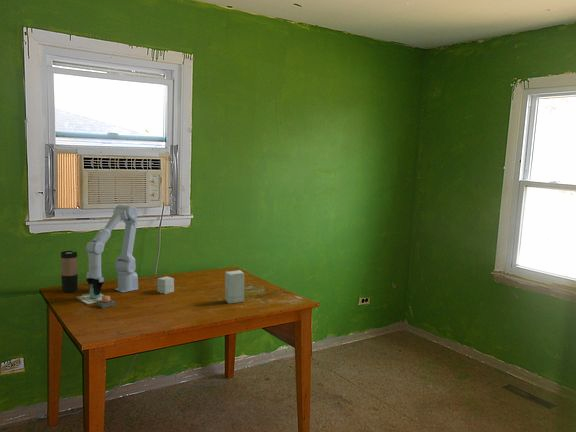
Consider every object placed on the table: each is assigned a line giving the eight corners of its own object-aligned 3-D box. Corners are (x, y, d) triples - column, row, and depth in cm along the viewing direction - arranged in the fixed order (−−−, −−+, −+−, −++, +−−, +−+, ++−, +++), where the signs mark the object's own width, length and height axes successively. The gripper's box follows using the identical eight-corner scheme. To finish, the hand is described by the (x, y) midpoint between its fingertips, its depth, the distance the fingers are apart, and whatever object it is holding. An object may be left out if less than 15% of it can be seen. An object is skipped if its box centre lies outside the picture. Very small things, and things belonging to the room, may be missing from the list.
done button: (108, 301, 228) (107, 295, 228) (111, 303, 226) (111, 296, 226) (100, 302, 226) (100, 296, 226) (104, 304, 223) (103, 298, 223)
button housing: (109, 302, 230) (109, 298, 230) (115, 305, 226) (115, 301, 226) (96, 305, 226) (96, 301, 226) (102, 308, 222) (102, 304, 222)
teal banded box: (97, 295, 238) (97, 283, 237) (100, 296, 235) (100, 284, 235) (89, 296, 235) (89, 284, 235) (93, 298, 233) (92, 286, 232)
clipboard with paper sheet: (99, 293, 245) (99, 291, 245) (112, 300, 235) (112, 298, 235) (74, 297, 236) (74, 295, 236) (87, 305, 226) (87, 303, 226)
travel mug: (62, 293, 243) (60, 254, 240) (61, 289, 250) (60, 251, 247) (78, 291, 246) (77, 253, 244) (77, 288, 253) (76, 250, 251)
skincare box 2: (240, 298, 243) (240, 269, 241) (244, 302, 238) (245, 272, 236) (224, 300, 240) (224, 271, 238) (228, 304, 234) (228, 273, 232)
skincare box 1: (166, 289, 255) (166, 275, 254) (174, 291, 252) (174, 277, 251) (157, 292, 250) (157, 278, 249) (165, 294, 247) (165, 280, 246)
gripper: (80, 264, 236) (80, 291, 238) (93, 270, 226) (93, 298, 228) (94, 262, 241) (95, 289, 243) (107, 268, 231) (108, 295, 232)
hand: (95, 293), depth 235 cm, fingers closed on teal banded box, 4 cm apart
